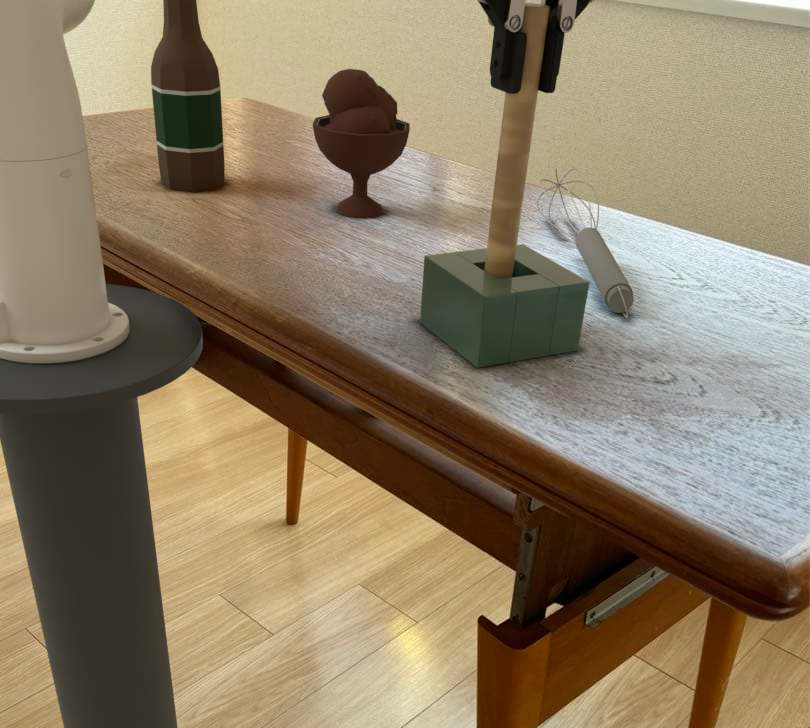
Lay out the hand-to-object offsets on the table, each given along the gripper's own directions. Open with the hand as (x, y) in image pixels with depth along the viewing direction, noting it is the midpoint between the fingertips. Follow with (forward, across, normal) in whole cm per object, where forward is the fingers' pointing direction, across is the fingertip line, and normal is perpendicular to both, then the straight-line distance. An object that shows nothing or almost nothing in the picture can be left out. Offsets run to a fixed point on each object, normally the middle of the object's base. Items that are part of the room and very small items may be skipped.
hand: (522, 87), depth 70 cm
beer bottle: (+20, -10, +53) cm, 57 cm away
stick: (+15, 0, 0) cm, 15 cm away
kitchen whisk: (+20, +20, +14) cm, 32 cm away
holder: (+20, +1, 0) cm, 20 cm away
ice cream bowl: (+20, +5, +37) cm, 42 cm away
